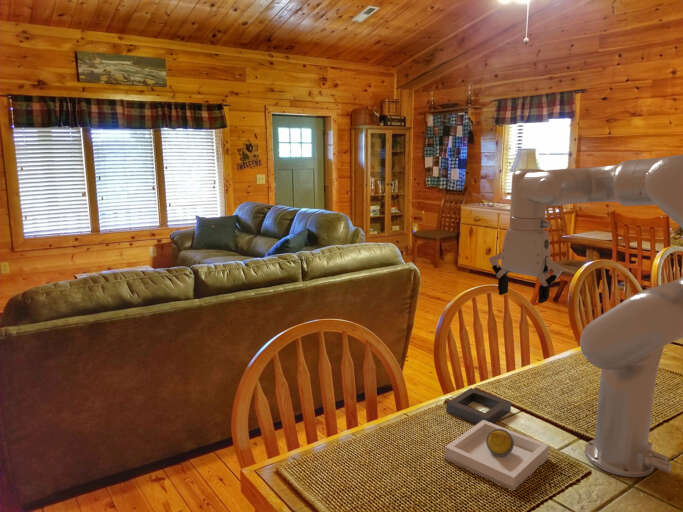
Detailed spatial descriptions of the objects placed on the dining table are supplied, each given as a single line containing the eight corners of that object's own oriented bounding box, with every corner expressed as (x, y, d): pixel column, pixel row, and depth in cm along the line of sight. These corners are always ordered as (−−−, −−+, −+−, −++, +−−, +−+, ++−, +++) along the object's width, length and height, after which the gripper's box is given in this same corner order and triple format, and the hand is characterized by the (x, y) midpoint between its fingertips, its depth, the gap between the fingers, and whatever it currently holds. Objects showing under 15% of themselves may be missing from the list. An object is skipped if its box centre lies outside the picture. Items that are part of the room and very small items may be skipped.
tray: (548, 458, 110) (549, 445, 109) (513, 492, 99) (513, 477, 99) (482, 432, 120) (483, 419, 120) (444, 459, 110) (445, 446, 109)
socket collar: (510, 411, 129) (511, 401, 129) (487, 428, 122) (487, 418, 121) (470, 396, 137) (470, 387, 136) (446, 412, 129) (446, 402, 129)
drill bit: (520, 456, 110) (509, 441, 103) (495, 463, 111) (482, 449, 104) (511, 431, 113) (500, 415, 106) (487, 438, 115) (474, 423, 108)
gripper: (572, 226, 117) (566, 301, 121) (500, 219, 129) (496, 287, 133) (557, 230, 112) (552, 308, 116) (483, 222, 124) (480, 294, 128)
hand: (522, 297), depth 124 cm, fingers open, 9 cm apart
